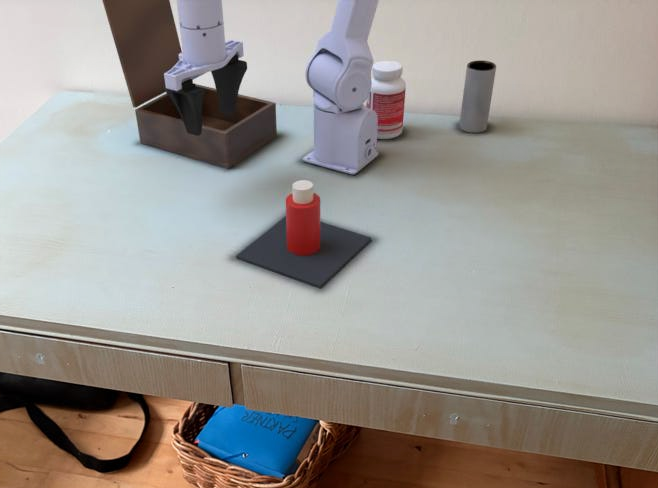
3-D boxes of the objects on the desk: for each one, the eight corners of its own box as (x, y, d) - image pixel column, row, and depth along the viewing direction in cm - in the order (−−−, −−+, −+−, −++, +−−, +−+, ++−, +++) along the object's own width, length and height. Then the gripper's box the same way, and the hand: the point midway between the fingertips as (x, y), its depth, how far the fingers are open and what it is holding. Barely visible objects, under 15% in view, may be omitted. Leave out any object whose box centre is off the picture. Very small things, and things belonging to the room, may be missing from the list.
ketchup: (326, 243, 99) (327, 181, 93) (308, 259, 97) (308, 196, 91) (298, 234, 101) (297, 173, 95) (280, 249, 99) (278, 187, 93)
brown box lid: (159, -43, 119) (140, -41, 121) (98, -22, 111) (80, -20, 113) (188, 80, 130) (171, 79, 132) (135, 107, 122) (118, 107, 124)
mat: (371, 240, 100) (371, 237, 100) (320, 288, 92) (320, 285, 92) (290, 214, 106) (290, 212, 106) (235, 258, 98) (235, 255, 98)
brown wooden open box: (276, 136, 126) (275, 102, 122) (228, 169, 117) (225, 133, 114) (191, 114, 134) (187, 82, 130) (140, 143, 126) (134, 109, 122)
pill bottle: (409, 133, 125) (415, 66, 117) (381, 143, 122) (385, 75, 115) (385, 121, 128) (389, 55, 121) (357, 130, 126) (360, 64, 119)
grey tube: (471, 119, 128) (480, 58, 121) (492, 127, 125) (502, 65, 118) (453, 126, 126) (461, 65, 119) (473, 135, 123) (482, 72, 116)
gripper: (211, 3, 103) (220, 100, 112) (140, 34, 94) (156, 136, 103) (253, 10, 100) (258, 109, 109) (183, 43, 91) (195, 147, 100)
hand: (211, 123), depth 106 cm, fingers open, 7 cm apart
